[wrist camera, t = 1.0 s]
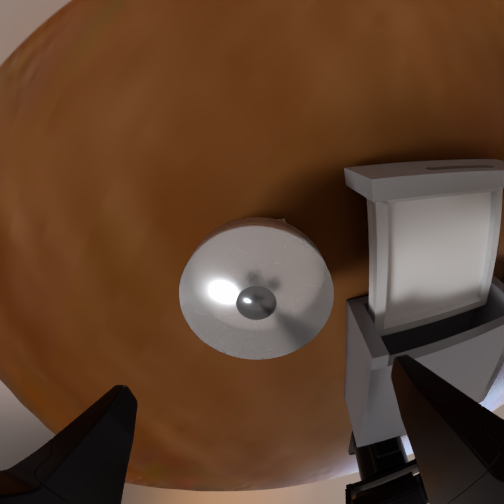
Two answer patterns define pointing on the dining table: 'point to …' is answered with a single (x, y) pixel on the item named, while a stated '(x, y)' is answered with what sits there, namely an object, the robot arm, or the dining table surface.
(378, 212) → the tray
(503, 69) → the dining table surface
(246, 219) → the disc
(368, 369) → the grey drawer cabinet
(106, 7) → the dining table surface
